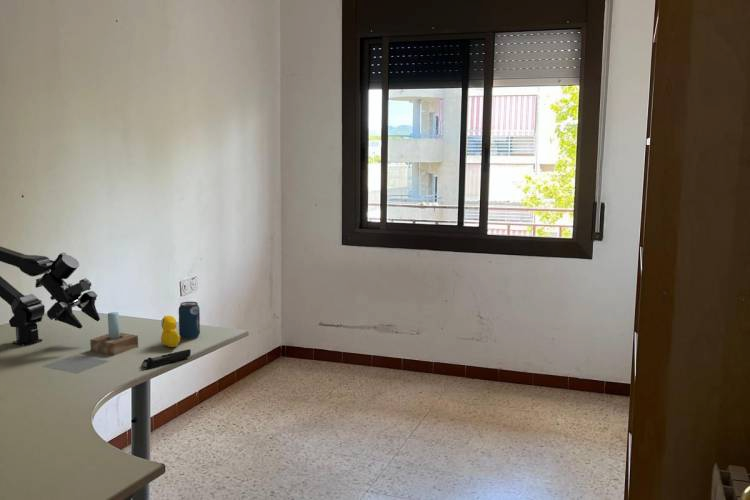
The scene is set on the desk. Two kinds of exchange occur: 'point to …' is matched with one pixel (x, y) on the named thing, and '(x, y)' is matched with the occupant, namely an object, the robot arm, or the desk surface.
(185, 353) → the electric trimmer
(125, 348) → the hole block
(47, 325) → the desk surface
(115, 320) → the peg
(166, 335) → the duckling
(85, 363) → the mat
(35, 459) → the desk surface
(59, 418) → the desk surface
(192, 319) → the soda can
